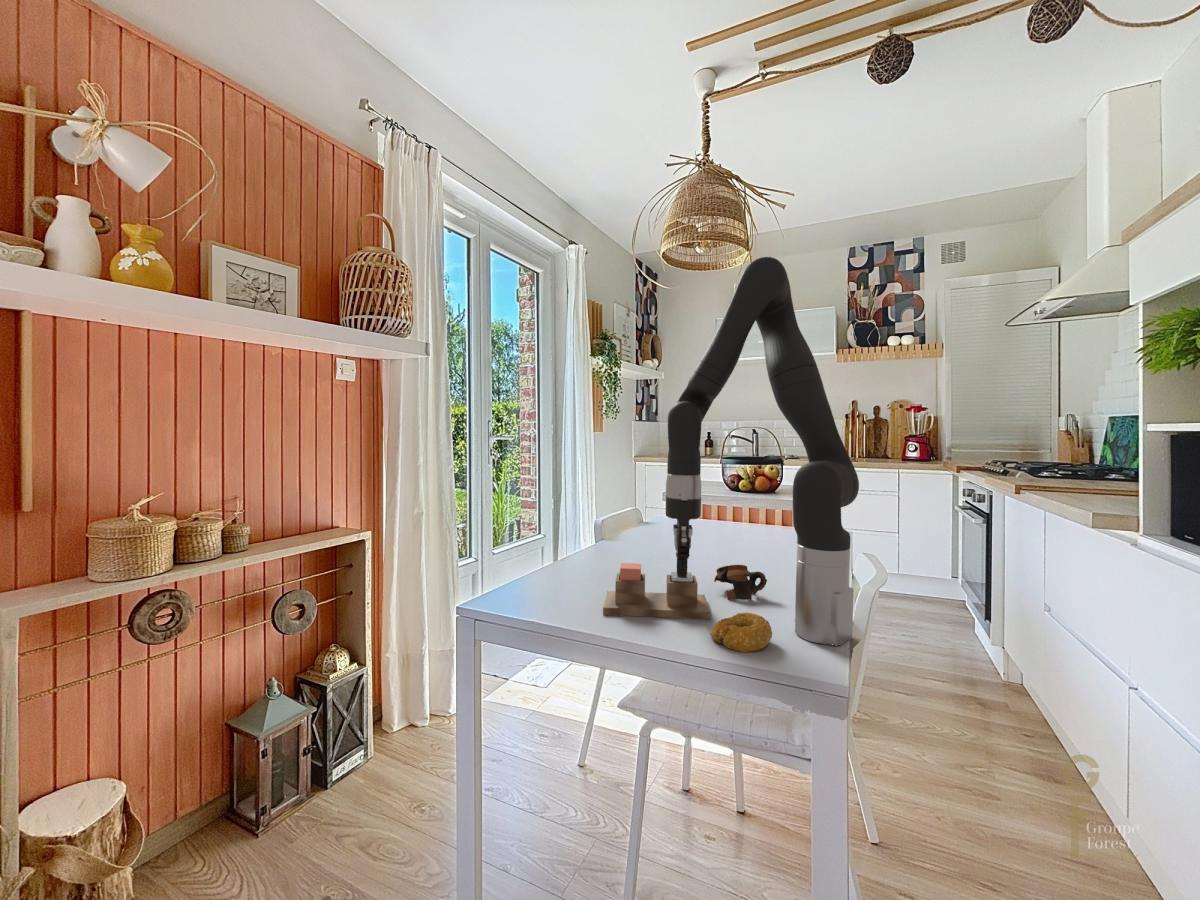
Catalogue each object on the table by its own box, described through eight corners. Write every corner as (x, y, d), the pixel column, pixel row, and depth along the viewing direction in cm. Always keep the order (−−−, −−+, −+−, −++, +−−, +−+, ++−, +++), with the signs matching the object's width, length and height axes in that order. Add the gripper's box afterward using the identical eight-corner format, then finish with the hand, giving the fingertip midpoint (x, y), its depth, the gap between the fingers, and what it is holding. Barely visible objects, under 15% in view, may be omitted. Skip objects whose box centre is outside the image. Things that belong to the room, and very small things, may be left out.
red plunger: (640, 585, 116) (641, 563, 116) (640, 592, 111) (640, 569, 111) (621, 585, 116) (621, 562, 116) (619, 591, 112) (620, 568, 112)
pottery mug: (714, 602, 119) (708, 566, 123) (723, 608, 127) (717, 575, 131) (768, 595, 115) (760, 558, 119) (773, 602, 123) (766, 567, 127)
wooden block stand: (704, 601, 118) (704, 572, 118) (709, 619, 107) (710, 587, 107) (607, 597, 120) (607, 569, 120) (603, 614, 109) (603, 583, 109)
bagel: (714, 628, 103) (714, 604, 103) (773, 637, 99) (773, 612, 99) (706, 648, 93) (706, 622, 93) (770, 658, 90) (771, 631, 89)
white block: (690, 594, 115) (691, 572, 115) (692, 601, 110) (692, 578, 110) (670, 594, 115) (671, 571, 115) (671, 600, 111) (671, 577, 111)
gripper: (665, 490, 119) (663, 565, 120) (666, 499, 106) (664, 583, 107) (698, 491, 118) (696, 567, 119) (704, 500, 105) (702, 585, 106)
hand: (681, 574), depth 113 cm, fingers closed
